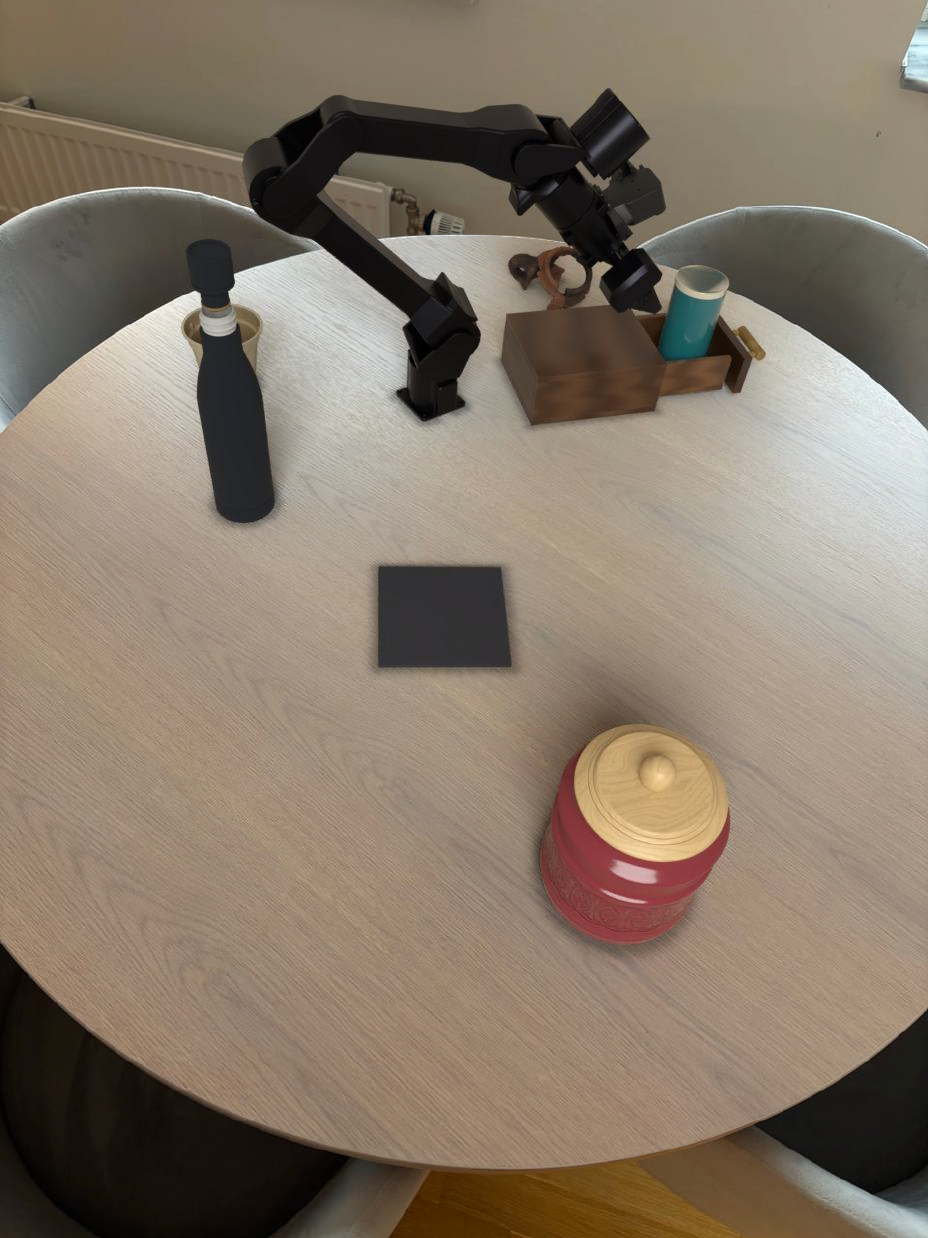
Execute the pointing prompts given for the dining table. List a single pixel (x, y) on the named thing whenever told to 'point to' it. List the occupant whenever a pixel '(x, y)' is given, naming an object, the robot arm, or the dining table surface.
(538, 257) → the brown ring sculpture
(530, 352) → the cabinet
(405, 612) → the coaster
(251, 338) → the flower pot
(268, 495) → the black water bottle
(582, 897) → the kitchen canister
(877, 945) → the dining table surface
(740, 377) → the drawer
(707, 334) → the tumbler
